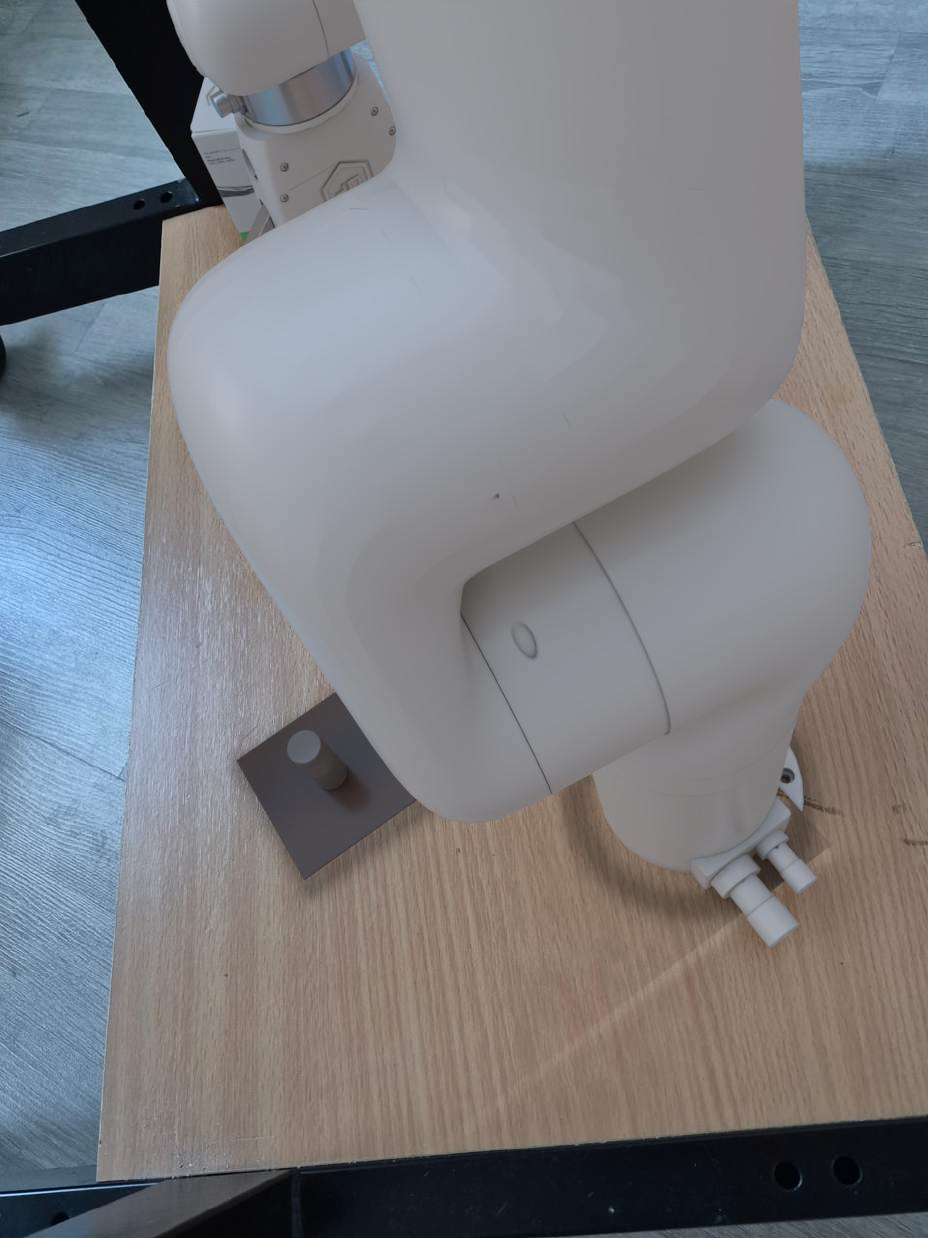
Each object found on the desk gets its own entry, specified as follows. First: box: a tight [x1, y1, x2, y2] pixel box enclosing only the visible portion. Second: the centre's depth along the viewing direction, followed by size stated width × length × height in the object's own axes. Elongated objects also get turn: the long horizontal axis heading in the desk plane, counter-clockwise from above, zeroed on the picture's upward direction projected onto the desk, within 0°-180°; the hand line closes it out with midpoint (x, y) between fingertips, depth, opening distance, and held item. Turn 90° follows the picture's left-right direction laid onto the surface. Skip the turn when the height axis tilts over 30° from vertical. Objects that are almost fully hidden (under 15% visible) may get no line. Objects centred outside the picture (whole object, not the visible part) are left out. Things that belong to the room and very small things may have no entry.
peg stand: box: [236, 691, 418, 880], centre depth 59 cm, size 9×9×6 cm
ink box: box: [190, 76, 261, 243], centre depth 80 cm, size 9×5×12 cm, turn 178°
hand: (371, 283), depth 76 cm, fingers closed on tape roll, 7 cm apart
